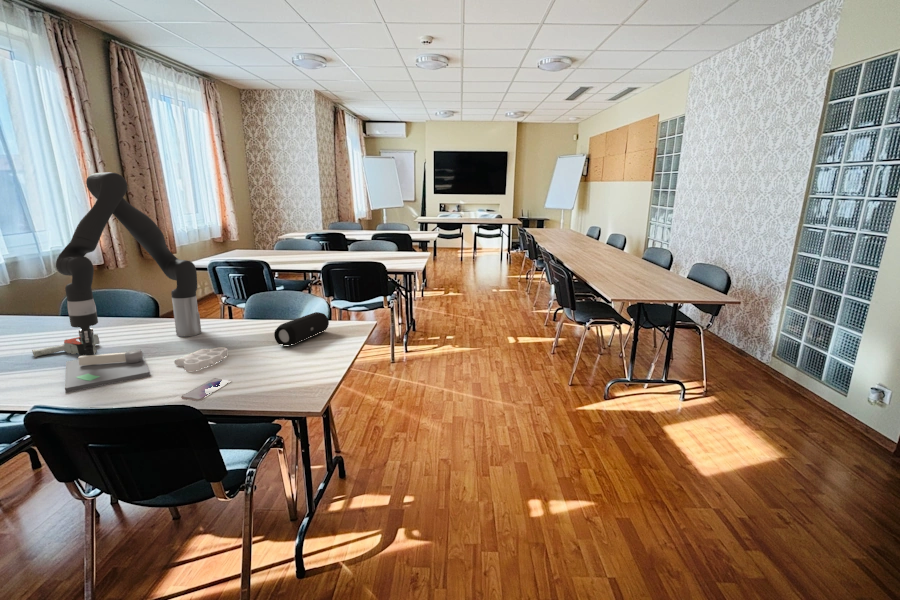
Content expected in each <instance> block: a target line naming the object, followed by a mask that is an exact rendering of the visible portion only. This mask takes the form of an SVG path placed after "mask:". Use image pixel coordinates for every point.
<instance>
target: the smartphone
mask: <svg viewBox="0 0 900 600" xmlns="http://www.w3.org/2000/svg"><path fill="white" fill-rule="evenodd" d="M222 379H223V378H212V379H210V380H208V381H206V382H205V383H203V384H200V385H199V386H197V387H195V388H193V389H192V390H190V391H188V392H186V393H185V394H182V396H180V399H181V398H182V400H187V399H192V400H191V401H195V400H201V399H203V398H204V397H205V396H207V395H208V394H206V393H205V389H208V388H211V387H212V386H213V387H218V386H220V385H219V384H220V382H221V381H222ZM216 385H217V386H216ZM204 399H205V398H204ZM204 399H203V400H204ZM201 401H202V400H201Z"/></svg>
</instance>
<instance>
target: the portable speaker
mask: <svg viewBox="0 0 900 600" xmlns="http://www.w3.org/2000/svg"><path fill="white" fill-rule="evenodd" d="M329 325H330V322H329V318H328V316H327V314H325V313H323V312H316V311H315V312H312V313H310V314H306V315H303V316H300V317H298V318H295V319H293V320H290V321H286V322H284V323H281V324H280V325H278V326H277V328H276V329H275V330H274V334H273V335H274V337H273V338H274V340H275V341H276V343H277V344H278V345H279V344H283V345H291V344H295V343H297V342H299V341H301V340H304V339H306V338H308V337H310V336H313V335H315V334H317V333H319V332H322V331H324V330H325V331H326V330H327V329H328V327H329ZM325 331H324V332H325ZM313 337H314V336H313ZM306 340H307V339H306ZM304 341H305V340H304ZM299 343H300V342H299ZM297 344H298V343H297ZM295 345H296V344H295Z"/></svg>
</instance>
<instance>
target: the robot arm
mask: <svg viewBox="0 0 900 600" xmlns="http://www.w3.org/2000/svg"><path fill="white" fill-rule="evenodd" d="M85 182H86V187H87V190H88V191H89V192H90V194H91V195H92V196H93V197H94V198H95V199H96V201H95V203H94V205H92V207H91V208H90V210H89V211H88V212H87V213H86V214H85V215H84V216H83V217H82V219H80V221H79V223H77V226H76V228H75V230H74V232H73V235H72V237H71V240H70V241H69V243H67V244H66V246H65V247H64V248H63V249H62V251H61V252H60V253H59V255H58V256H57V258H56V261H55V268H56V270H57V271H58V273H60V274H62V275H64V276H71V277H72V278H71V282H70V283H68V284H66V285H65V288H64V289H65V290H64V291H65V295H66V302H67V312H68V313H67V314H68V317H69V322H70V323H69V325H70V326H71V327H72V328H76V329H77V328H80V329H79V330H78V335H79V336H78V337H81V343H82V344H83V345H84V347H83V348H84V350H85V352H86V355H85V356H87V355H95V354H94V351H93V348H94V346H93V342H94V338H93V335H94V329H93V328H94V327H92V328H90V327H91V326H95V325H98V324H99V319H98V318H99V317H98V314H97V306H96V303H95V300H94V294H93V289H92V287H93V279H94V272H95V271H94V269H95V268H94V264H93V263H92V261H91V259H90V258H88V257H86V255H87V254H89V253H93V252H95V250H96V249H97V247H98V244H99V242H100V239H101V237H102V235H103V232H104V230H105V228H106V225H107V224H108V222H109V220H110V218H111V217H112V215H113V216H114V217H115V218H116V219H117V220H118V221H119V222H120V223H121V225H123V227H124V228H125V229H126V230H127V231H128V233H129V234H130V235H131V236H132V237H133V238H134V240H135V241H137V242H138V243H139V244H140V246H142V248H143V249H144V250H145V251H146V252H147V253H148V254H149V256H151V257H152V258H153V260H154V261H155V262H156V264H157V265H158V266H159V268H160V269H161V271H162V272H163V274H164V275H165V276H166V277H167V278H168V279H170V280H172V281H175V282H176V287H175V289H172V290H171V293H170V295H171V302H172V309H173V319H174V324H175V325H174V326H175V333H176V334H175V335H176V336H177V337H179V338H180V337H182V338H184V337H193V336H197V335H199V334H202V325H201V318H200V317H201V315H200V312H199V308H198V300H197V290H198V273H197V269H196V265H195V264H194V263H193V262H192V261H191V260H185V259H179V258H177V257H176V256H175V255H174V254H173V253H172V252H171V250H170V249H169V248H168V246H167V243H166V239H165V235H164V233H163V232H162V230H161V228H160V227H159V226H158V225H157V224H156V223H155V222H154V220H153V219H152V218H151V217H150V216H148V215H147V214H145V213H144V212H142V211H141V210H140V209H138V208H136V207H135V206H134V205H132V204H130V203H129V202H128V201H127V200H126V199H125V198H124V197H125V196H126V193H127V192H128V183H127V181H126V179H125V178H124V176H122V175H121V174H119V173H116V172H111V171H110V172H108V171H107V172H95V173H92V174H89V175H88V176H87V178H86V181H85Z"/></svg>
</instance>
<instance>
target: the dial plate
mask: <svg viewBox="0 0 900 600" xmlns="http://www.w3.org/2000/svg"><path fill="white" fill-rule="evenodd" d="M137 350H141V351H142V349H137ZM129 351H130V350H128V351H121V352H119V353H125V352H129ZM131 351H133V350H131ZM142 356H143V360H142V361H140V362H137V363H126V362H117V363H105V364H93V365H82V366H80V365H79V360H78V359H74V360H73V359H72V360H68V361H67V360H66V361H65V379H64V390H65V391H64V392H65V394H66V393H71V392H72V393H73V392H77V391H82V390H86V389H90V388H91V389H92V388H96V387H101V386H107V385H112V384H116V383H122V382H127V381H133V380H139V379H141V378H142V379H143V378H147V377H151V373H150V369H149V367H148V363H146V360H145V357H144V354H143V353H142Z"/></svg>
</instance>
